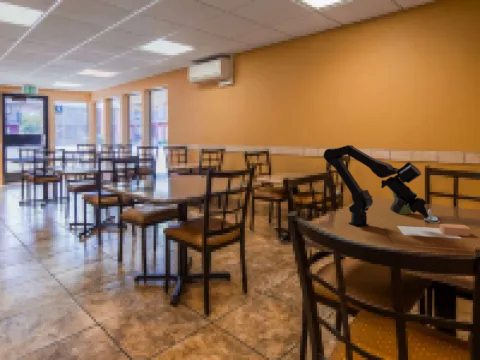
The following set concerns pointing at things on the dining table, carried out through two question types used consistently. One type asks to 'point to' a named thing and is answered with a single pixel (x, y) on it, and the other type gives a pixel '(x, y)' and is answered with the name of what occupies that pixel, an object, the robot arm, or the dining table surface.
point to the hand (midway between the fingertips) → (426, 216)
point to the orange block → (454, 229)
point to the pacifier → (431, 217)
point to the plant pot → (404, 207)
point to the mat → (424, 232)
